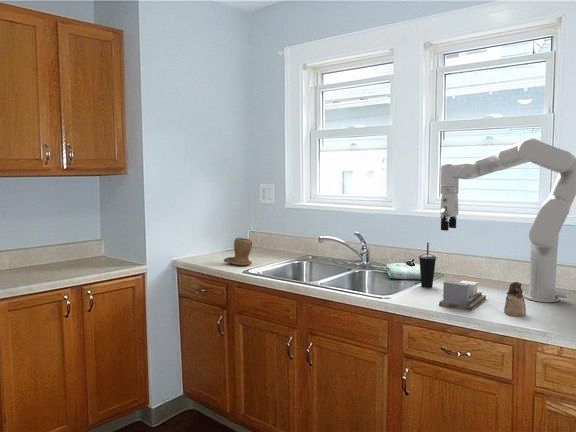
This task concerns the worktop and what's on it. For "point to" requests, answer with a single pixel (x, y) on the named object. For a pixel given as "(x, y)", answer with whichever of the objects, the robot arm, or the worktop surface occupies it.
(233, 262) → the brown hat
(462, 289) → the grey rectangular block
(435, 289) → the worktop surface
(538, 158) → the robot arm
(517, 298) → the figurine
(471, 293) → the gauge carriage
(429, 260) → the drinking cup
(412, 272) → the towel
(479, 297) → the base
